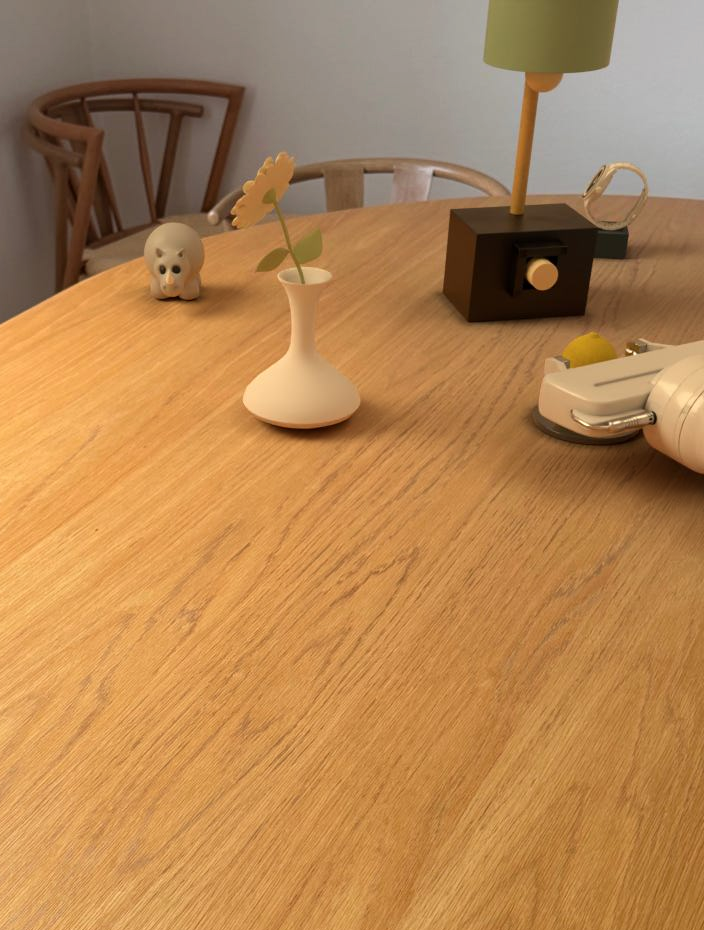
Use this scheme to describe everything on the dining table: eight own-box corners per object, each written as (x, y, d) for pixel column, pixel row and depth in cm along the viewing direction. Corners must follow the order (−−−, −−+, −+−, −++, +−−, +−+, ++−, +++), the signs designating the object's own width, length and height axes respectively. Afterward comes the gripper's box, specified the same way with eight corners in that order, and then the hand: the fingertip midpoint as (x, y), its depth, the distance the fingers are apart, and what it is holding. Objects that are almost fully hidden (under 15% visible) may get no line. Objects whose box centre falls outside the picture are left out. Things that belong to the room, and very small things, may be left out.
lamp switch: (556, 289, 139) (560, 262, 137) (530, 291, 138) (533, 264, 137) (548, 282, 141) (551, 255, 139) (522, 283, 140) (525, 257, 139)
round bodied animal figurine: (137, 318, 145) (133, 245, 140) (149, 284, 155) (146, 214, 150) (199, 319, 145) (198, 245, 140) (207, 285, 155) (206, 215, 150)
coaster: (630, 402, 124) (631, 397, 124) (648, 446, 116) (649, 440, 116) (527, 399, 125) (528, 394, 125) (538, 443, 117) (539, 437, 117)
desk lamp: (593, 322, 143) (646, -6, 124) (474, 330, 141) (510, -2, 122) (552, 285, 153) (595, -23, 135) (441, 292, 152) (469, -19, 133)
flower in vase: (313, 383, 129) (321, 126, 115) (383, 421, 121) (401, 150, 107) (206, 412, 123) (201, 146, 109) (273, 455, 115) (276, 173, 101)
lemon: (618, 423, 119) (632, 342, 115) (560, 425, 119) (573, 344, 114) (599, 399, 124) (613, 320, 119) (544, 401, 123) (555, 322, 119)
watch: (573, 243, 167) (586, 157, 161) (636, 246, 166) (651, 160, 160) (574, 256, 163) (587, 168, 156) (639, 259, 161) (654, 171, 155)
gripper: (592, 468, 105) (495, 407, 116) (776, 422, 112) (669, 368, 123) (604, 398, 102) (503, 342, 112) (793, 354, 109) (682, 305, 119)
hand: (591, 355), depth 118 cm, fingers open, 8 cm apart
